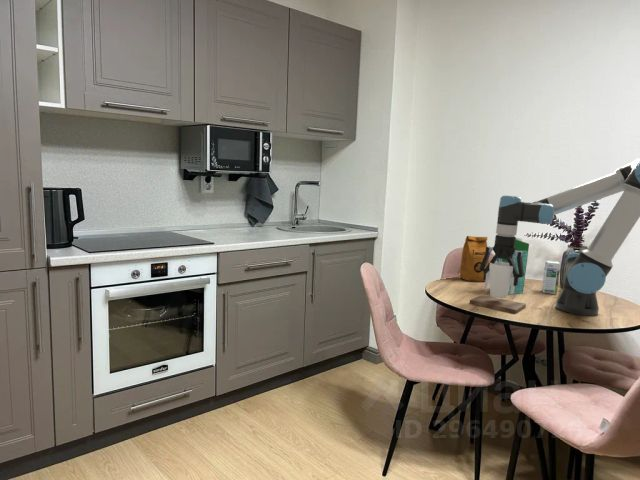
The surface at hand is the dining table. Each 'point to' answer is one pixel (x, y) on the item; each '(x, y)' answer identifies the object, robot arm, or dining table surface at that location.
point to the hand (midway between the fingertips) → (499, 290)
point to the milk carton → (518, 247)
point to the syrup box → (551, 277)
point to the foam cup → (500, 279)
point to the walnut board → (498, 304)
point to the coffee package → (473, 258)
